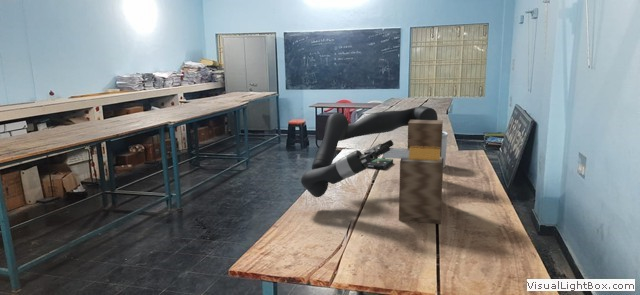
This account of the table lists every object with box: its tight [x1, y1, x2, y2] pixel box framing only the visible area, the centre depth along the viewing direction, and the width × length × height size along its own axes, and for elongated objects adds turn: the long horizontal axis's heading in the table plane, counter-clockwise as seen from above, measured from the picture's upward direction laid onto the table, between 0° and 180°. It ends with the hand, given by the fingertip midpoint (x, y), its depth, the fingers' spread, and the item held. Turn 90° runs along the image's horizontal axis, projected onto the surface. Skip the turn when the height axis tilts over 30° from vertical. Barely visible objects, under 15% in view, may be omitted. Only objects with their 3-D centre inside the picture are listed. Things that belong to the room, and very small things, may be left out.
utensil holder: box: [441, 130, 449, 169], centre depth 214 cm, size 15×15×18 cm
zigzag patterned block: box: [398, 119, 444, 225], centre depth 151 cm, size 14×23×32 cm, turn 163°
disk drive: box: [367, 157, 394, 171], centre depth 218 cm, size 10×3×15 cm
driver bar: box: [382, 146, 440, 161], centre depth 144 cm, size 19×4×4 cm, turn 73°
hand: (390, 144), depth 145 cm, fingers open, 8 cm apart
